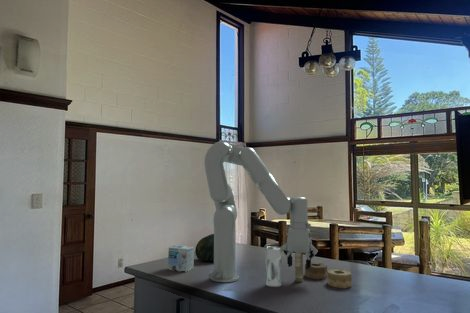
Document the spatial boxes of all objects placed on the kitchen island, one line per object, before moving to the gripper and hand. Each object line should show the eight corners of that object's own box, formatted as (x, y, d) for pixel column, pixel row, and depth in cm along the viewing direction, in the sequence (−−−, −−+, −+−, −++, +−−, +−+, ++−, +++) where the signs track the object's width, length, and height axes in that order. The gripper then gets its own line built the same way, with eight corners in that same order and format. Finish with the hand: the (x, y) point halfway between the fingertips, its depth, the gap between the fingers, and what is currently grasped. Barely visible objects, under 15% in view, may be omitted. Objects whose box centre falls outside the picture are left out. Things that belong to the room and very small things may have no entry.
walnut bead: (323, 280, 147) (323, 268, 147) (303, 277, 152) (302, 265, 152) (328, 275, 155) (328, 264, 155) (309, 272, 159) (309, 261, 160)
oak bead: (352, 288, 136) (352, 275, 136) (329, 287, 137) (329, 274, 138) (348, 281, 145) (348, 269, 145) (326, 280, 146) (326, 268, 147)
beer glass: (271, 288, 135) (271, 250, 136) (261, 283, 141) (262, 247, 142) (285, 286, 138) (285, 248, 139) (275, 281, 144) (275, 245, 146)
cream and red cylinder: (301, 282, 144) (301, 248, 145) (294, 281, 145) (294, 248, 146) (303, 280, 146) (303, 247, 147) (296, 279, 148) (296, 246, 149)
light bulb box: (167, 270, 162) (167, 247, 163) (175, 266, 168) (175, 244, 169) (187, 272, 158) (187, 248, 159) (194, 269, 164) (194, 246, 165)
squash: (191, 247, 189) (197, 229, 181) (216, 246, 195) (223, 229, 187) (196, 269, 178) (203, 251, 170) (222, 268, 184) (230, 250, 176)
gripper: (321, 226, 146) (321, 268, 145) (283, 223, 155) (283, 263, 154) (315, 228, 140) (316, 272, 139) (276, 225, 149) (276, 266, 147)
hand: (299, 267), depth 146 cm, fingers open, 7 cm apart
